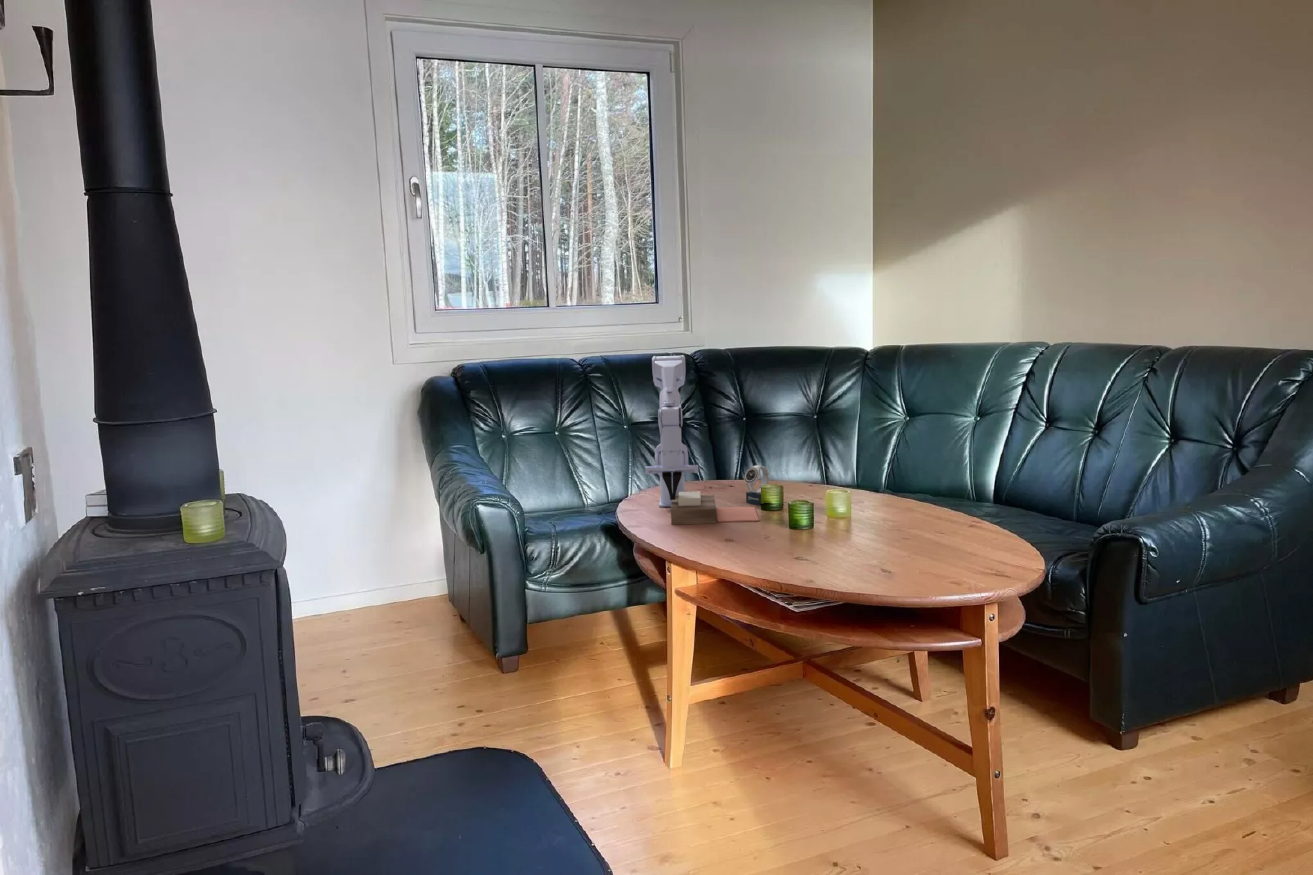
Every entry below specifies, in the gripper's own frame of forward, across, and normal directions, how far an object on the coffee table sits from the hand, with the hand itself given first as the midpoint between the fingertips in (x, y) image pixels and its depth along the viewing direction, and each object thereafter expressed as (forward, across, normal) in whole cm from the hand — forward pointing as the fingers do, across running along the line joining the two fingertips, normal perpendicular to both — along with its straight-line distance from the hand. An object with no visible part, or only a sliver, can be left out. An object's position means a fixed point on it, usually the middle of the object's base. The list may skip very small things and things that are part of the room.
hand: (672, 499), depth 232 cm
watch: (+5, +25, +15) cm, 29 cm away
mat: (+5, +17, 0) cm, 18 cm away
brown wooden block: (+5, +6, 0) cm, 7 cm away
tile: (+1, +5, 0) cm, 5 cm away
